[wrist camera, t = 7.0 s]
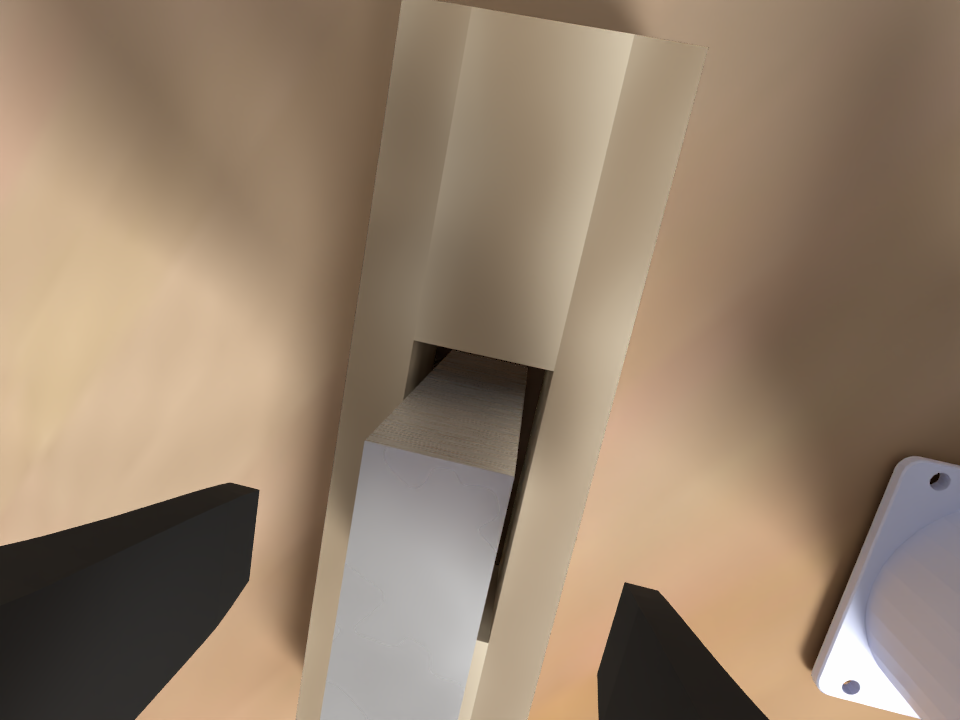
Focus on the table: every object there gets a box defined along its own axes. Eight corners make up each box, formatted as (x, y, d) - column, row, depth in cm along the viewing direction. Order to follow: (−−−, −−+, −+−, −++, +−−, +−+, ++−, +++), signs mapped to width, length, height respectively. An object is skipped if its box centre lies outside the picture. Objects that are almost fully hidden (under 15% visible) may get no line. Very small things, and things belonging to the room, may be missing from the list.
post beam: (667, 99, 14) (708, 46, 10) (498, 749, 18) (489, 860, 15) (435, 57, 14) (402, -6, 11) (330, 702, 19) (283, 799, 16)
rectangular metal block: (528, 366, 16) (514, 476, 8) (488, 539, 17) (443, 781, 9) (451, 350, 16) (364, 440, 8) (418, 522, 17) (315, 744, 9)
